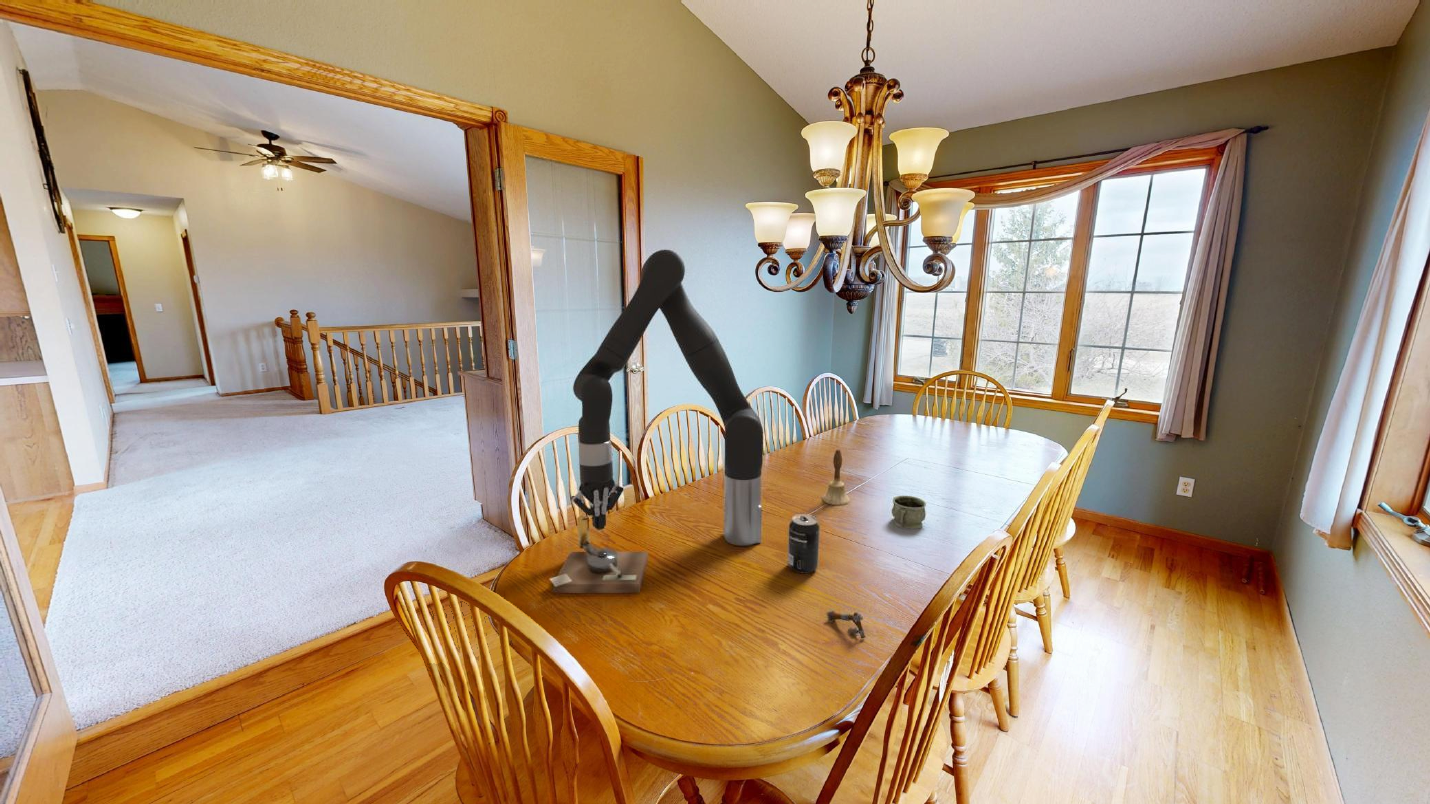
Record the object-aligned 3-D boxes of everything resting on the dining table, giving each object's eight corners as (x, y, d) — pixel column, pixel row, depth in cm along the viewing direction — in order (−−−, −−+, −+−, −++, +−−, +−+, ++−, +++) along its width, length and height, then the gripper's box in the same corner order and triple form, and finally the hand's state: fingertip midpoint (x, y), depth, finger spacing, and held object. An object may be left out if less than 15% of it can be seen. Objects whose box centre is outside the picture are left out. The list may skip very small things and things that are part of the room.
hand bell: (850, 506, 154) (853, 454, 151) (821, 504, 156) (824, 452, 152) (849, 496, 162) (852, 446, 159) (822, 493, 164) (824, 444, 160)
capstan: (632, 574, 112) (630, 540, 110) (604, 584, 108) (603, 549, 107) (594, 543, 126) (593, 512, 124) (569, 551, 122) (567, 519, 121)
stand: (647, 559, 123) (647, 547, 123) (638, 595, 109) (638, 582, 108) (565, 559, 123) (564, 547, 122) (545, 595, 108) (544, 582, 108)
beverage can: (808, 558, 124) (810, 511, 121) (823, 572, 118) (825, 523, 115) (782, 563, 122) (784, 515, 119) (796, 578, 115) (798, 527, 113)
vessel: (899, 511, 151) (901, 491, 149) (931, 519, 145) (933, 498, 144) (883, 525, 141) (885, 504, 140) (916, 535, 136) (918, 512, 135)
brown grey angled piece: (864, 640, 93) (858, 614, 94) (832, 635, 100) (826, 611, 100) (871, 636, 94) (864, 611, 95) (838, 632, 101) (832, 608, 101)
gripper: (614, 450, 128) (616, 516, 131) (561, 460, 120) (566, 530, 123) (629, 457, 122) (631, 526, 126) (575, 469, 114) (579, 542, 118)
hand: (599, 528), depth 124 cm, fingers closed
